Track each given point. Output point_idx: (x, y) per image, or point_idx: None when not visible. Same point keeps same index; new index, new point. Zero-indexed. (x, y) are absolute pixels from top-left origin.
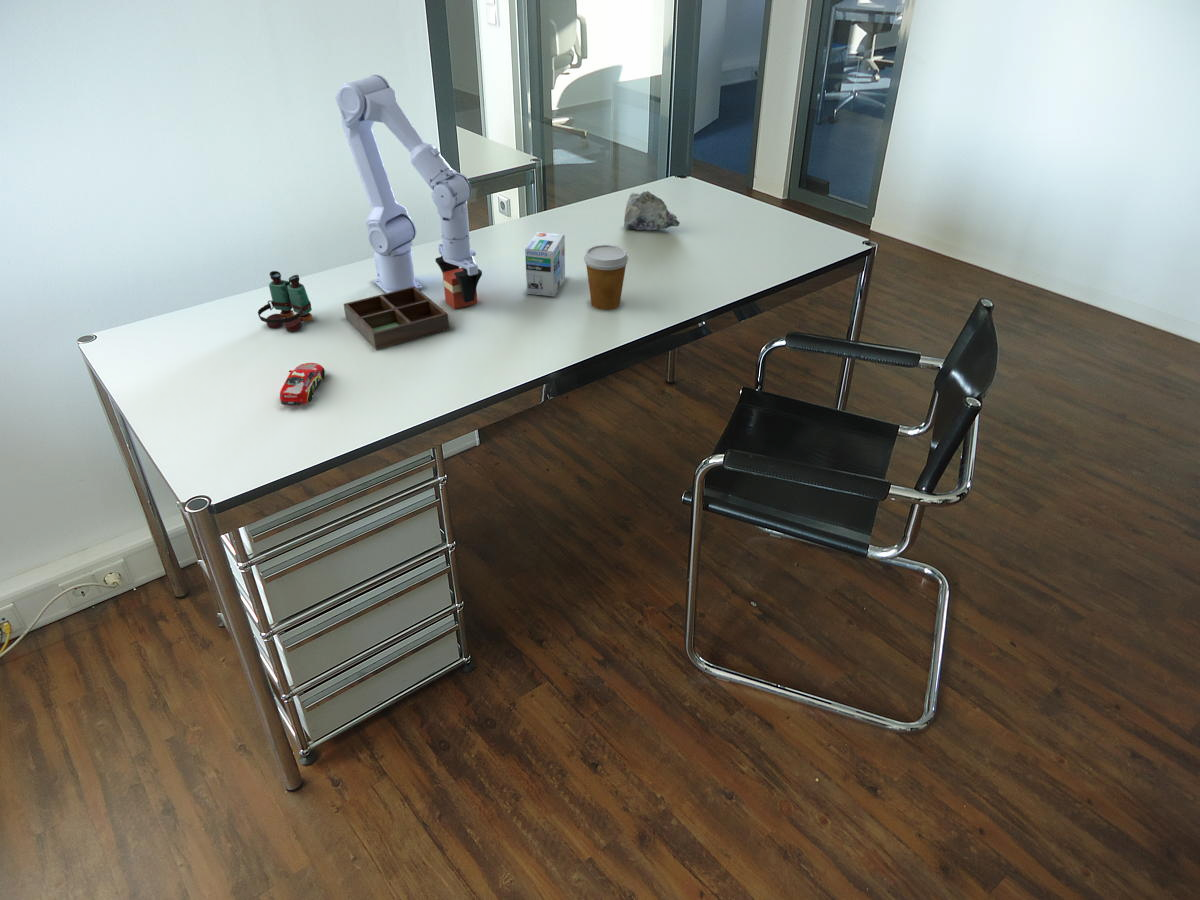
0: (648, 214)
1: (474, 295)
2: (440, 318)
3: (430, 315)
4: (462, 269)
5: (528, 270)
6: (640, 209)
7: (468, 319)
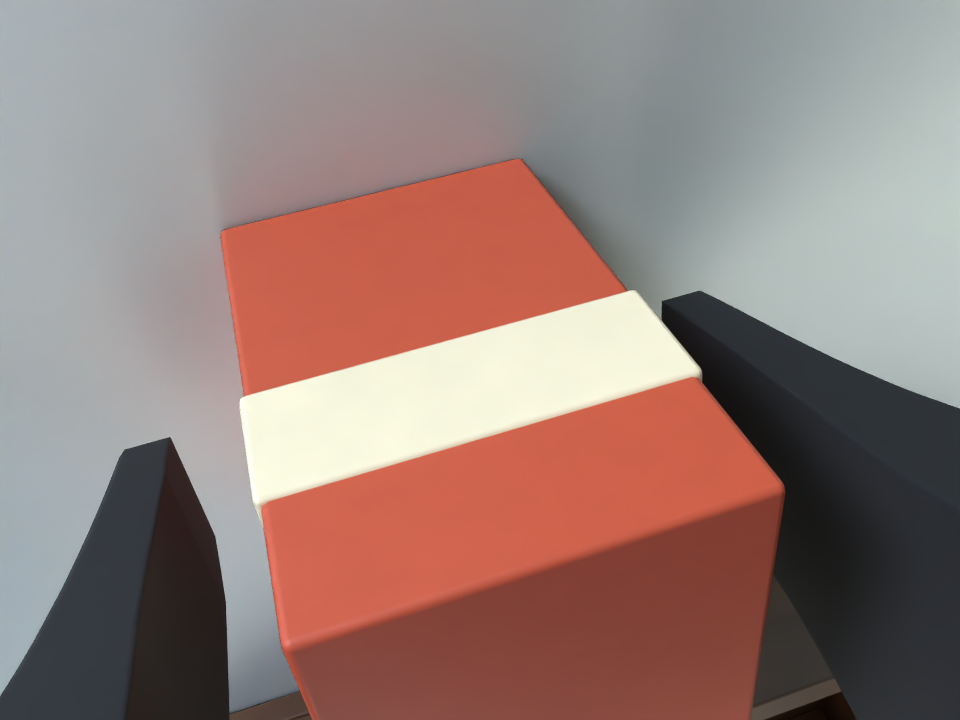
0: None
1: (754, 323)
2: None
3: None
4: (433, 699)
5: None
6: None
7: (828, 336)
